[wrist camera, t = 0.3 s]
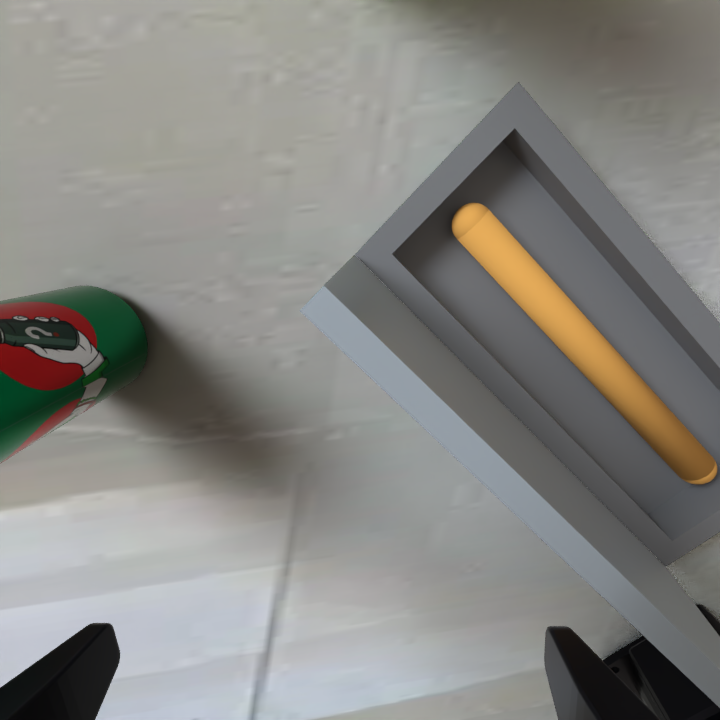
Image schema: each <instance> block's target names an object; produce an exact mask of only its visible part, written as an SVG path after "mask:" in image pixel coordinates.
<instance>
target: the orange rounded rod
mask: <svg viewBox="0 0 720 720" xmlns="http://www.w3.org/2000/svg"><path fill="white" fill-rule="evenodd" d="M452 231H453V234H454V236H455V237H456V238H457V240H458V241H459V242H460V243H461V244H462V245H463V246H464V247H465V248H466V249H467V250H468V252H469V253H470V254H471V255H472V256H473V257H474V258H475V259H476V260H477V261H478V262H479V263H480V264H481V265H482V266H483V268H484V269H485V270H486V271H487V272H488V273H489V274H490V275H491V276H492V277H493V278H494V279H495V280H496V281H497V283H498V284H499V285H500V286H501V287H502V288H503V289H504V290H505V291H506V292H507V293H508V294H509V295H510V296H511V298H512V299H513V300H514V301H515V302H516V303H517V304H518V305H519V306H520V307H521V308H522V309H523V310H524V311H525V312H526V314H527V315H528V316H529V317H530V318H531V319H532V320H533V321H534V322H535V323H536V324H537V325H538V326H539V327H540V329H541V330H542V331H543V332H544V333H545V334H546V335H547V336H548V337H549V338H550V339H551V340H552V341H553V342H554V344H555V345H556V346H557V347H558V348H559V349H560V350H561V351H562V352H563V353H564V354H565V355H566V356H567V357H568V359H569V360H570V361H571V362H572V363H573V364H574V365H575V366H576V367H577V368H578V369H579V370H580V371H581V372H582V373H583V375H584V376H585V377H586V378H587V379H588V380H589V381H590V382H591V383H592V384H593V385H594V386H595V387H596V388H597V390H598V391H599V392H600V393H601V394H602V395H603V396H604V397H605V398H606V399H607V400H608V401H609V402H610V403H611V405H612V406H613V407H614V408H615V409H616V410H617V411H618V412H619V413H620V414H621V415H622V416H623V417H624V418H625V420H626V421H627V422H628V423H629V424H630V425H631V426H632V427H633V428H634V429H635V430H636V431H637V432H638V433H639V434H640V436H641V437H642V438H643V439H644V440H645V441H646V442H647V443H648V444H649V445H650V446H651V447H652V448H653V449H654V451H655V452H656V453H657V454H658V455H659V456H660V457H661V458H662V459H663V460H664V461H665V462H666V463H667V464H668V466H669V467H670V468H671V469H672V470H673V471H674V472H675V473H676V474H677V475H678V476H679V477H680V478H681V479H682V480H684V481H686V482H688V483H691V484H705V483H708V482H710V481H711V480H713V479H714V477H715V476H716V474H717V464H716V461H715V460H714V458H713V457H712V456H711V455H710V454H709V453H708V451H707V450H706V449H705V448H704V447H703V446H702V445H701V444H700V443H699V442H698V440H697V439H696V438H695V437H694V436H693V435H692V434H691V433H690V432H689V430H688V429H687V428H686V427H685V426H684V425H683V424H682V423H681V422H680V420H679V419H678V418H677V417H676V416H675V415H674V414H673V413H672V412H671V411H670V409H669V408H668V407H667V406H666V405H665V404H664V403H663V402H662V401H661V399H660V398H659V397H658V396H657V395H656V394H655V393H654V392H653V391H652V390H651V388H650V387H649V386H648V385H647V384H646V383H645V382H644V381H643V380H642V378H641V377H640V376H639V375H638V374H637V373H636V372H635V371H634V370H633V368H632V367H631V366H630V365H629V364H628V363H627V362H626V361H625V360H624V359H623V357H622V356H621V355H620V354H619V353H618V352H617V351H616V350H615V349H614V347H613V346H612V345H611V344H610V343H609V342H608V341H607V340H606V339H605V337H604V336H603V335H602V334H601V333H600V332H599V331H598V330H597V329H596V328H595V326H594V325H593V324H592V323H591V322H590V321H589V320H588V319H587V318H586V316H585V315H584V314H583V313H582V312H581V311H580V310H579V309H578V308H577V306H576V305H575V304H574V303H573V302H572V301H571V300H570V299H569V298H568V297H567V295H566V294H565V293H564V292H563V291H562V290H561V289H560V288H559V287H558V285H557V284H556V283H555V282H554V281H553V280H552V279H551V278H550V277H549V275H548V274H547V273H546V272H545V271H544V270H543V269H542V268H541V267H540V266H539V264H538V263H537V262H536V261H535V260H534V259H533V258H532V257H531V256H530V254H529V253H528V252H527V251H526V250H525V249H524V248H523V247H522V246H521V244H520V243H519V242H518V241H517V240H516V239H515V238H514V237H513V236H512V235H511V233H510V232H509V231H508V230H507V229H506V228H505V227H504V226H503V225H502V223H501V222H500V221H499V220H498V219H497V218H496V217H495V216H494V215H493V213H492V212H491V211H490V210H489V209H488V208H487V207H486V206H484V205H482V204H479V203H468V204H465V205H464V206H462V207H460V208H459V209H458V210H457V211H456V213H455V215H454V217H453V219H452Z"/></svg>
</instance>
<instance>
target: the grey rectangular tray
mask: <svg viewBox="0 0 720 720" xmlns="http://www.w3.org/2000/svg"><path fill="white" fill-rule="evenodd" d="M468 203H479V204H482V205H484V206H486V207H487V208H488V209H489V210H490V211H491V212H492V213H493V215H494V216H495V217H496V218H497V219H498V220H499V221H500V222H501V223H502V225H503V226H504V227H505V228H506V229H507V230H508V231H509V232H510V233H511V235H512V236H513V237H514V238H515V239H516V240H517V241H518V242H519V243H520V244H521V246H522V247H523V248H524V249H525V250H526V251H527V252H528V253H529V254H530V256H531V257H532V258H533V259H534V260H535V261H536V262H537V263H538V264H539V266H540V267H541V268H542V269H543V270H544V271H545V272H546V273H547V274H548V275H549V277H550V278H551V279H552V280H553V281H554V282H555V283H556V284H557V285H558V287H559V288H560V289H561V290H562V291H563V292H564V293H565V294H566V295H567V297H568V298H569V299H570V300H571V301H572V302H573V303H574V304H575V305H576V306H577V308H578V309H579V310H580V311H581V312H582V313H583V314H584V315H585V316H586V318H587V319H588V320H589V321H590V322H591V323H592V324H593V325H594V326H595V328H596V329H597V330H598V331H599V332H600V333H601V334H602V335H603V336H604V337H605V339H606V340H607V341H608V342H609V343H610V344H611V345H612V346H613V347H614V349H615V350H616V351H617V352H618V353H619V354H620V355H621V356H622V357H623V359H624V360H625V361H626V362H627V363H628V364H629V365H630V366H631V367H632V368H633V370H634V371H635V372H636V373H637V374H638V375H639V376H640V377H641V378H642V380H643V381H644V382H645V383H646V384H647V385H648V386H649V387H650V388H651V390H652V391H653V392H654V393H655V394H656V395H657V396H658V397H659V398H660V399H661V401H662V402H663V403H664V404H665V405H666V406H667V407H668V408H669V409H670V411H671V412H672V413H673V414H674V415H675V416H676V417H677V418H678V419H679V420H680V422H681V423H682V424H683V425H684V426H685V427H686V428H687V429H688V430H689V432H690V433H691V434H692V435H693V436H694V437H695V438H696V439H697V440H698V442H699V443H700V444H701V445H702V446H703V447H704V448H705V449H706V450H707V451H708V453H709V454H710V455H711V456H712V457H713V458H714V460H715V461H716V464H717V474H716V476H715V477H714V479H713V480H711V481H710V482H708V483H705V484H691V483H688V482H686V481H684V480H682V479H681V478H680V477H679V476H678V475H677V474H676V473H675V472H674V471H673V470H672V469H671V468H670V467H669V466H668V464H667V463H666V462H665V461H664V460H663V459H662V458H661V457H660V456H659V455H658V454H657V453H656V452H655V451H654V449H653V448H652V447H651V446H650V445H649V444H648V443H647V442H646V441H645V440H644V439H643V438H642V437H641V436H640V434H639V433H638V432H637V431H636V430H635V429H634V428H633V427H632V426H631V425H630V424H629V423H628V422H627V421H626V420H625V418H624V417H623V416H622V415H621V414H620V413H619V412H618V411H617V410H616V409H615V408H614V407H613V406H612V405H611V403H610V402H609V401H608V400H607V399H606V398H605V397H604V396H603V395H602V394H601V393H600V392H599V391H598V390H597V388H596V387H595V386H594V385H593V384H592V383H591V382H590V381H589V380H588V379H587V378H586V377H585V376H584V375H583V373H582V372H581V371H580V370H579V369H578V368H577V367H576V366H575V365H574V364H573V363H572V362H571V361H570V360H569V359H568V357H567V356H566V355H565V354H564V353H563V352H562V351H561V350H560V349H559V348H558V347H557V346H556V345H555V344H554V342H553V341H552V340H551V339H550V338H549V337H548V336H547V335H546V334H545V333H544V332H543V331H542V330H541V329H540V327H539V326H538V325H537V324H536V323H535V322H534V321H533V320H532V319H531V318H530V317H529V316H528V315H527V314H526V312H525V311H524V310H523V309H522V308H521V307H520V306H519V305H518V304H517V303H516V302H515V301H514V300H513V299H512V298H511V296H510V295H509V294H508V293H507V292H506V291H505V290H504V289H503V288H502V287H501V286H500V285H499V284H498V283H497V281H496V280H495V279H494V278H493V277H492V276H491V275H490V274H489V273H488V272H487V271H486V270H485V269H484V268H483V266H482V265H481V264H480V263H479V262H478V261H477V260H476V259H475V258H474V257H473V256H472V255H471V254H470V253H469V252H468V250H467V249H466V248H465V247H464V246H463V245H462V244H461V243H460V242H459V241H458V240H457V238H456V237H455V236H454V234H453V231H452V219H453V217H454V215H455V213H456V211H457V210H458V209H459V208H460V207H462V206H464V205H465V204H468ZM355 255H356V256H357V257H358V258H359V259H360V260H361V261H362V262H363V263H364V264H365V265H366V266H367V267H368V268H369V269H370V270H371V271H372V272H373V273H374V274H375V275H376V276H377V277H378V278H379V279H380V280H381V281H382V282H383V283H384V284H385V285H386V286H387V287H388V288H389V289H390V290H391V291H392V292H393V293H394V294H395V295H396V296H397V297H398V298H399V299H400V300H401V301H402V302H403V303H404V304H405V305H406V306H407V307H408V308H409V309H410V310H411V311H412V312H413V313H414V314H415V315H416V316H417V317H418V318H419V319H420V320H421V321H422V322H423V323H424V324H425V325H426V326H427V327H428V328H429V329H430V330H431V331H432V332H433V333H434V334H435V335H436V336H437V337H438V338H439V339H440V340H441V341H442V342H443V343H444V344H445V345H446V346H447V347H448V348H449V349H450V350H451V351H452V352H453V353H454V354H455V355H456V356H457V357H458V359H459V360H460V361H461V362H462V363H463V364H464V365H465V366H466V367H467V368H468V369H469V370H470V371H471V372H472V373H473V374H474V375H475V376H476V377H477V378H478V379H479V380H480V381H481V382H482V383H483V384H484V385H485V386H486V387H487V388H488V389H489V390H490V391H491V392H492V393H493V394H494V395H495V396H496V397H497V398H498V399H499V400H500V401H501V402H502V403H503V404H504V405H505V406H506V407H507V408H508V409H509V410H510V411H511V412H512V413H513V414H514V415H515V416H516V417H517V418H518V419H519V420H520V421H521V422H522V423H523V424H524V425H525V426H526V427H527V428H528V429H529V430H530V431H531V432H532V433H533V434H534V435H535V436H536V437H537V438H538V439H539V440H540V441H541V442H542V443H543V444H544V445H545V446H546V447H547V448H548V449H549V450H550V451H551V452H552V453H553V454H554V455H555V456H556V457H557V458H558V459H559V460H560V461H561V462H562V463H563V464H564V465H565V466H566V467H567V468H568V469H569V470H570V471H571V472H572V473H573V474H574V475H575V476H576V477H577V478H578V479H579V480H580V481H581V482H582V483H583V484H584V485H585V486H586V487H587V488H588V489H589V490H590V491H591V492H592V493H593V494H594V495H595V496H596V497H597V498H598V499H599V500H600V501H601V502H602V503H603V504H604V505H605V506H606V507H607V508H608V509H609V510H610V511H611V512H612V513H613V514H614V515H615V516H616V517H617V518H618V519H619V520H620V521H621V522H622V523H623V524H624V525H625V526H626V527H627V528H628V529H629V530H630V531H631V532H632V533H633V534H634V535H635V536H636V537H637V538H638V539H639V540H640V541H641V542H642V543H643V544H644V545H645V546H646V547H647V548H648V549H649V550H650V551H651V552H652V553H653V554H654V555H655V556H656V557H657V558H658V559H659V560H660V561H661V562H662V563H663V564H664V565H665V566H668V565H669V564H671V563H672V562H674V561H675V560H677V559H678V558H680V557H682V556H683V555H685V554H686V553H688V552H689V551H691V550H692V549H694V548H696V547H697V546H699V545H700V544H702V543H703V542H705V541H706V540H708V539H710V538H711V537H713V536H714V535H716V534H717V533H719V532H720V323H719V322H718V321H717V319H716V318H715V317H714V316H713V315H712V313H711V312H710V311H709V310H708V309H707V307H706V306H705V305H704V304H703V303H702V301H701V300H700V299H699V298H698V297H697V295H696V294H695V293H694V292H693V291H692V289H691V288H690V287H689V286H688V285H687V283H686V282H685V281H684V280H683V279H682V277H681V276H680V275H679V274H678V273H677V271H676V270H675V269H674V268H673V267H672V265H671V264H670V263H669V262H668V261H667V259H666V258H665V257H664V256H663V255H662V253H661V252H660V251H659V250H658V249H657V247H656V246H655V245H654V244H653V243H652V241H651V240H650V239H649V238H648V237H647V235H646V234H645V233H644V232H643V231H642V229H641V228H640V227H639V226H638V225H637V223H636V222H635V221H634V220H633V219H632V217H631V216H630V215H629V214H628V213H627V211H626V210H625V209H624V208H623V207H622V205H621V204H620V203H619V202H618V201H617V199H616V198H615V197H614V196H613V195H612V193H611V192H610V191H609V190H608V188H607V187H606V186H605V185H604V184H603V182H602V181H601V180H600V179H599V178H598V176H597V175H596V174H595V173H594V172H593V170H592V169H591V168H590V167H589V166H588V164H587V163H586V162H585V161H584V160H583V158H582V157H581V156H580V155H579V154H578V152H577V151H576V150H575V149H574V148H573V146H572V145H571V144H570V143H569V142H568V140H567V139H566V138H565V137H564V136H563V134H562V133H561V132H560V131H559V130H558V128H557V127H556V126H555V125H554V124H553V122H552V121H551V120H550V119H549V118H548V116H547V115H546V114H545V113H544V112H543V110H542V109H541V108H540V107H539V106H538V104H537V103H536V102H535V101H534V100H533V98H532V97H531V96H530V95H529V94H528V92H527V91H526V90H525V89H524V88H523V86H522V85H521V84H520V83H519V82H518V83H517V84H516V85H515V86H514V87H513V88H512V89H511V90H510V91H509V92H508V93H507V94H506V96H505V97H504V98H503V99H502V100H501V101H500V102H499V103H498V104H497V105H496V106H495V107H494V108H493V109H492V110H491V111H490V112H489V113H488V115H487V116H486V117H485V118H484V119H483V120H482V121H481V122H480V123H479V124H478V125H477V126H476V127H475V128H474V129H473V130H472V131H471V132H470V134H469V135H468V136H467V137H466V138H465V139H464V140H463V141H462V142H461V143H460V144H459V145H458V146H457V147H456V148H455V149H454V150H453V151H452V153H451V154H450V155H449V156H448V157H447V158H446V159H445V160H444V161H443V162H442V163H441V164H440V165H439V166H438V167H437V168H436V169H435V170H434V172H433V173H432V174H431V175H430V176H429V177H428V178H427V179H426V180H425V181H424V182H423V183H422V184H421V185H420V186H419V187H418V188H417V189H416V191H415V192H414V193H413V194H412V195H411V196H410V197H409V198H408V199H407V200H406V201H405V202H404V203H403V204H402V205H401V206H400V207H399V208H398V210H397V211H396V212H395V213H394V214H393V215H392V216H391V217H390V218H389V219H388V220H387V221H386V222H385V223H384V224H383V225H382V226H381V227H380V229H379V230H378V231H377V232H376V233H375V234H374V235H373V236H372V237H371V238H370V239H369V240H368V241H367V242H366V243H365V244H364V245H363V246H362V248H361V249H360V250H359V251H358V252H357V253H356V254H355Z"/></svg>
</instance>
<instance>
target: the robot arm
mask: <svg viewBox="0 0 720 720" xmlns="http://www.w3.org/2000/svg"><path fill="white" fill-rule="evenodd" d="M696 606H697V608H698V609H699V610H700V611H701V613H702V614H703V615H704V617H705V618H706V619H707V621H708V622H709V623H710V624H711V626H712V627H713V628H714V630H715V631H716V632H717V634H718V635H719V636H720V622H719V621H718V620H717V619H716V618H715V617H714V616H713V615H712V614H711V613H710V612H709V611H708V610H707V609H706V608H705V607H704V606H703V605H696ZM119 660H120V650H119V646H118V643H117V639H116V636H115V632H114V628H113V626H112V625H111V624H109V623H92V624H90V625H88V626H86V627H85V628H83V629H82V630H81V631H79V632H78V633H76V634H75V635H74V636H72V637H71V638H69V639H68V640H67V641H65V642H64V643H62V644H61V645H60V646H58V647H57V648H55V649H54V650H53V651H51V652H50V653H48V654H47V655H46V656H44V657H43V658H41V659H40V660H39V661H37V662H36V663H34V664H33V665H32V666H30V667H29V668H27V669H26V670H24V671H23V672H22V673H20V674H19V675H17V676H16V677H15V678H13V679H12V680H10V681H9V682H8V683H6V684H5V685H3V686H2V687H1V688H0V720H95V719H96V716H97V714H98V712H99V709H100V707H101V704H102V702H103V700H104V697H105V695H106V693H107V690H108V688H109V686H110V683H111V681H112V679H113V676H114V674H115V672H116V669H117V667H118V664H119ZM544 661H545V669H546V674H547V678H548V681H549V685H550V689H551V693H552V697H553V701H554V705H555V708H556V712H557V716H558V720H720V708H719V707H718V706H717V705H716V704H715V703H714V702H713V701H712V700H711V699H710V698H709V697H708V696H707V695H706V694H705V693H704V692H702V691H701V690H700V689H699V688H698V687H697V686H696V685H695V684H694V683H693V682H692V681H691V680H690V679H689V678H688V677H687V676H686V675H684V674H683V673H682V672H681V671H680V670H679V669H678V668H677V667H676V666H675V665H674V664H673V663H672V662H671V661H670V660H669V659H668V658H666V657H665V656H664V655H663V654H662V653H661V652H660V651H659V650H658V649H657V648H656V647H655V646H654V645H653V644H652V643H651V642H650V641H648V640H647V639H646V638H645V637H644V636H642V637H640V638H639V639H637V640H635V641H634V642H632V643H630V644H629V645H627V646H626V647H624V648H622V649H621V650H619V651H617V652H616V653H614V654H612V655H611V656H609V657H607V658H606V659H605V660H603V661H602V660H601V659H600V658H599V657H598V656H597V655H596V654H595V653H594V652H593V651H592V650H591V649H590V647H589V646H588V645H587V644H586V643H585V642H584V641H583V640H582V639H581V638H580V637H579V636H578V635H577V634H576V633H575V632H574V631H573V630H572V629H570V628H569V627H565V626H550V627H548V628H547V630H546V638H545V656H544Z"/></svg>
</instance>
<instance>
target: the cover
mask: <svg viewBox="0 0 720 720" xmlns="http://www.w3.org/2000/svg"><path fill="white" fill-rule="evenodd" d="M300 312H301V313H302V314H303V315H305V316H306V317H307V318H308V319H309V320H310V321H311V322H312V323H313V324H314V325H315V326H316V327H317V328H318V329H319V330H320V331H321V332H323V333H324V334H325V335H326V336H327V337H328V338H329V339H330V340H331V341H332V342H333V343H334V344H335V345H336V346H337V347H338V348H339V349H341V350H342V351H343V352H344V353H345V354H346V355H347V356H348V357H349V358H350V359H351V360H352V361H353V362H354V363H355V364H356V365H357V366H359V367H360V368H361V369H362V370H363V371H364V372H365V373H366V374H367V375H368V376H369V377H370V378H371V379H372V380H373V381H374V382H375V383H376V384H378V385H379V386H380V387H381V388H382V389H383V390H384V391H385V392H386V393H387V394H388V395H389V396H390V397H391V398H392V399H393V400H394V401H396V402H397V403H398V404H399V405H400V406H401V407H402V408H403V409H404V410H405V411H406V412H407V413H408V414H409V415H410V416H411V417H412V418H414V419H415V420H416V421H417V422H418V423H419V424H420V425H421V426H422V427H423V428H424V429H425V430H426V431H427V432H428V433H429V434H430V435H432V436H433V437H434V438H435V439H436V440H437V441H438V442H439V443H440V444H441V445H442V446H443V447H444V448H445V449H446V450H447V451H448V452H450V453H451V454H452V455H453V456H454V457H455V458H456V459H457V460H458V461H459V462H460V463H461V464H462V465H463V466H464V467H465V468H466V469H468V470H469V471H470V472H471V473H472V474H473V475H474V476H475V477H476V478H477V479H478V480H479V481H480V482H481V483H482V484H483V485H484V486H485V487H487V488H488V489H489V490H490V491H491V492H492V493H493V494H494V495H495V496H496V497H497V498H498V499H499V500H500V501H501V502H502V503H503V504H505V505H506V506H507V507H508V508H509V509H510V510H511V511H512V512H513V513H514V514H515V515H516V516H517V517H518V518H519V519H520V520H521V521H523V522H524V523H525V524H526V525H527V526H528V527H529V528H530V529H531V530H532V531H533V532H534V533H535V534H536V535H537V536H538V537H539V538H541V539H542V540H543V541H544V542H545V543H546V544H547V545H548V546H549V547H550V548H551V549H552V550H553V551H554V552H555V553H556V554H557V555H559V556H560V557H561V558H562V559H563V560H564V561H565V562H566V563H567V564H568V565H569V566H570V567H571V568H572V569H573V570H574V571H575V572H577V573H578V574H579V575H580V576H581V577H582V578H583V579H584V580H585V581H586V582H587V583H588V584H589V585H590V586H591V587H592V588H593V589H595V590H596V591H597V592H598V593H599V594H600V595H601V596H602V597H603V598H604V599H605V600H606V601H607V602H608V603H609V604H610V605H611V606H612V607H614V608H615V609H616V610H617V611H618V612H619V613H620V614H621V615H622V616H623V617H624V618H625V619H626V620H627V621H628V622H629V623H630V624H632V625H633V626H634V627H635V628H636V629H637V630H638V631H639V632H640V633H641V634H642V635H643V636H644V637H645V638H646V639H647V640H648V641H650V642H651V643H652V644H653V645H654V646H655V647H656V648H657V649H658V650H659V651H660V652H661V653H662V654H663V655H664V656H665V657H666V658H668V659H669V660H670V661H671V662H672V663H673V664H674V665H675V666H676V667H677V668H678V669H679V670H680V671H681V672H682V673H683V674H684V675H686V676H687V677H688V678H689V679H690V680H691V681H692V682H693V683H694V684H695V685H696V686H697V687H698V688H699V689H700V690H701V691H702V692H704V693H705V694H706V695H707V696H708V697H709V698H710V699H711V700H712V701H713V702H714V703H715V704H716V705H717V706H718V707H719V708H720V636H719V635H718V634H717V632H716V631H715V630H714V628H713V627H712V626H711V624H710V623H709V622H708V621H707V619H706V618H705V617H704V615H703V614H702V613H701V611H700V610H699V609H698V608H697V606H696V605H695V604H694V602H693V601H692V600H691V598H690V597H689V596H688V594H687V593H686V592H685V591H684V589H683V588H682V587H681V585H680V584H679V583H678V581H677V580H676V579H675V578H674V576H673V575H672V574H671V572H670V571H669V570H668V569H667V568H666V567H665V566H664V565H663V564H662V563H661V562H660V561H659V560H658V559H657V558H656V557H655V556H654V555H653V554H652V553H651V552H650V551H649V550H648V549H647V548H646V547H645V546H644V545H643V544H642V543H641V542H640V541H639V540H638V539H637V538H636V537H635V536H634V535H633V534H632V533H631V532H630V531H629V530H628V529H627V528H626V527H625V526H624V525H623V524H622V523H621V522H620V521H619V520H618V519H617V518H616V517H615V516H614V515H613V514H612V513H611V512H610V511H609V510H608V509H607V508H606V507H605V506H604V505H603V504H602V503H601V502H600V501H599V500H598V499H597V498H596V497H595V496H594V495H593V494H592V493H591V492H590V491H589V490H588V488H587V487H586V486H585V485H584V484H583V483H582V482H581V481H580V480H579V479H578V478H577V477H576V476H575V475H574V474H573V473H572V472H571V471H570V470H569V469H568V468H567V467H566V466H565V465H564V464H563V463H562V462H561V461H560V460H559V459H558V458H557V457H556V456H555V455H554V454H553V453H552V452H551V451H550V450H549V449H548V448H547V447H546V446H545V445H544V444H543V443H542V442H541V441H540V440H539V439H538V438H537V437H536V436H535V435H534V434H533V433H532V432H531V431H530V430H529V429H528V428H527V427H526V426H525V425H524V424H523V423H522V422H521V421H520V420H519V419H518V418H517V417H516V416H515V415H514V414H513V413H512V412H511V411H510V410H509V409H508V408H507V407H506V406H505V405H504V404H503V403H502V402H501V401H500V400H499V399H498V398H497V397H496V396H495V395H494V394H493V393H492V392H491V391H490V390H489V389H488V388H487V387H486V386H485V385H484V384H483V383H482V382H481V381H480V380H479V379H478V378H477V377H476V376H475V375H474V374H473V373H472V372H471V371H470V370H469V369H468V368H467V367H466V366H465V365H464V364H463V363H462V362H461V361H460V360H459V359H458V358H457V357H456V356H455V355H454V354H453V353H452V352H451V351H450V350H449V349H448V348H447V347H446V346H445V345H444V344H443V343H442V342H441V341H440V340H439V339H438V338H437V337H436V336H435V335H434V334H433V333H432V332H431V331H430V330H429V329H428V328H427V327H426V326H425V325H424V324H423V323H422V322H421V321H420V320H419V319H418V318H417V317H416V316H415V315H414V314H413V313H412V312H411V311H410V310H409V309H408V308H407V307H406V306H405V305H404V304H403V303H402V302H401V301H400V300H399V299H398V298H397V297H396V296H395V295H394V294H393V293H392V292H391V291H390V290H389V289H388V288H387V287H386V286H385V285H384V284H383V283H382V282H381V281H380V280H379V279H378V278H377V277H376V276H375V275H374V274H373V273H372V272H371V271H370V270H369V269H368V268H367V267H366V266H365V265H364V264H363V263H362V262H361V261H360V260H359V259H358V258H357V257H356V256H355V255H354V256H353V257H352V258H351V259H350V260H349V261H348V262H347V263H346V264H345V265H344V266H343V267H342V268H341V269H340V270H339V271H338V272H337V273H336V274H335V275H334V276H333V277H332V278H331V279H330V280H329V281H328V282H327V283H326V284H325V285H324V286H323V287H322V288H321V289H320V290H319V291H318V292H317V293H316V294H315V295H314V296H313V297H312V298H311V299H310V301H309V302H308V303H307V304H306V305H305V306H304V307H303V308H302V309H301V310H300Z"/></svg>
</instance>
